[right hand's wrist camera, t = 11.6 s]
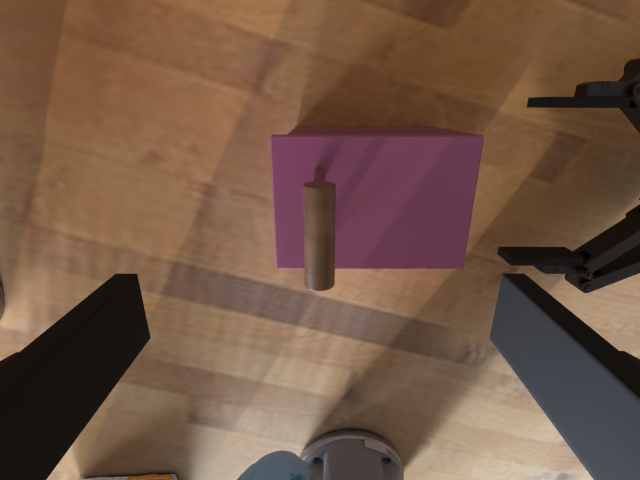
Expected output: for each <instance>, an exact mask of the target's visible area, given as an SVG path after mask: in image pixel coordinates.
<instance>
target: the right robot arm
mask: <svg viewBox="0 0 640 480" xmlns="http://www.w3.org/2000/svg"><path fill="white" fill-rule="evenodd" d="M3 311H4V294H3V289H2V286H1V283H0V319H1V317H2V315H3ZM149 339H150V334H149V329H148V324H147V319H146V315H145V310H144V305H143V300H142V295H141V290H140V285H139V281H138V276H137V274H115V275H114V276H112V277H111V278H110V279H109V280H107V281H106V282H105V283H104V284H103V285H101V286H100V287H99V288H98V289H96V290H95V291H94V292H93V293H92V294H90V295H89V296H88V297H87V298H85V299H84V300H83V301H82V302H80V303H79V304H78V305H77V306H76V307H74V308H73V309H72V310H71V311H69V312H68V313H67V314H66V315H65V316H63V317H62V318H61V319H60V320H58V321H57V322H56V323H55V324H54V325H52V326H51V327H50V328H49V329H47V330H46V331H45V332H44V333H42V334H41V335H40V336H39V337H38V338H36V339H35V340H34V341H33V342H31V343H30V344H29V345H28V346H27V347H25V348H24V349H23V350H22V351H20V352H16V353H14V354H13V355H11V356H9V357H7V358H5V359H3V360H1V361H0V480H46V479H47V478H48V476H49V475H50V474H51V472H52V471H53V470H54V468H55V467H56V466H57V464H58V463H59V461H60V460H61V459H62V457H63V456H64V455H65V453H66V452H67V451H68V449H69V448H70V447H71V445H72V444H73V442H74V441H75V440H76V438H77V437H78V436H79V434H80V433H81V432H82V430H83V429H84V427H85V426H86V425H87V423H88V422H89V421H90V419H91V418H92V417H93V415H94V414H95V413H96V411H97V410H98V408H99V407H100V406H101V404H102V403H103V402H104V400H105V399H106V398H107V396H108V395H109V393H110V392H111V391H112V389H113V388H114V387H115V385H116V384H117V383H118V381H119V380H120V379H121V377H122V376H123V374H124V373H125V372H126V370H127V369H128V368H129V366H130V365H131V364H132V362H133V361H134V359H135V358H136V357H137V355H138V354H139V353H140V351H141V350H142V349H143V347H144V346H145V345H146V343H147V342H148V340H149ZM490 339H491V340H492V342H493V343H494V345H495V346H496V347H497V349H498V350H499V351H500V353H501V354H502V355H503V357H504V358H505V359H506V361H507V362H508V364H509V365H510V366H511V368H512V369H513V370H514V372H515V373H516V374H517V376H518V377H519V379H520V380H521V381H522V383H523V384H524V385H525V387H526V388H527V389H528V391H529V392H530V393H531V395H532V396H533V398H534V399H535V400H536V402H537V403H538V404H539V406H540V407H541V408H542V410H543V411H544V413H545V414H546V415H547V417H548V418H549V419H550V421H551V422H552V423H553V425H554V426H555V427H556V429H557V430H558V432H559V433H560V434H561V436H562V437H563V438H564V440H565V441H566V442H567V444H568V445H569V447H570V448H571V449H572V451H573V452H574V453H575V455H576V456H577V457H578V459H579V460H580V461H581V463H582V464H583V466H584V467H585V468H586V470H587V471H588V472H589V474H590V475H591V476H592V478H593V479H594V480H640V359H638V358H636V357H634V356H632V355H630V354H628V353H627V352H625V351H618V350H617V349H616V348H615V347H613V346H612V345H611V344H610V343H609V342H607V341H606V340H605V339H604V338H602V337H601V336H600V335H599V334H598V333H596V332H595V331H594V330H593V329H591V328H590V327H589V326H588V325H586V324H585V323H584V322H583V321H582V320H580V319H579V318H578V317H577V316H575V315H574V314H573V313H572V312H571V311H569V310H568V309H567V308H566V307H564V306H563V305H562V304H561V303H560V302H558V301H557V300H556V299H555V298H553V297H552V296H551V295H550V294H548V293H547V292H546V291H545V290H544V289H542V288H541V287H540V286H539V285H537V284H536V283H535V282H534V281H533V280H531V279H530V278H529V277H528V276H526V275H525V274H503V276H502V281H501V285H500V290H499V295H498V300H497V305H496V310H495V315H494V319H493V324H492V329H491V334H490Z"/></svg>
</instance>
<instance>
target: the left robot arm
mask: <svg viewBox="0 0 640 480" xmlns="http://www.w3.org/2000/svg"><path fill="white" fill-rule="evenodd" d="M527 107H555V108H620V109H621V111H622V112H623V113H624V114H625V116H626V117H627V118H628V119H629V121H630V122H631V123H632V124H633V126H634V127H635V128H636V129H637V130H638V132H639V133H640V58H638V59H632V60H630V61H628V62H627V63H626V64H625V66H624V75H623V76H622V78H621V79H620V80H618V81H617V82H603V81H596V82H585V83H581V84H579V85H577V87H576V91H575V95H574V97H538V98H529V99H528V104H527ZM639 200H640V199H639ZM497 254H498V255H499V256H501V257H502V258H503V259H504V260H505V261H507V262H508V263H509V264H510V265H533V266H534V267H536V268H537V269H538V270H540V271H541V272H543V273H546V274H556V273H557V274H566V275H565V279H566V280H567V281H568V282H569V283H571V284H572V285H574V286H575V287H576V288H578V289H579V290H581V291H582V292H584V293H589V292H591V291H594V290H597V289H599V288H602V287H604V286H607V285H610V284H612V283H615V282H617V281H620V280H623V279H625V278H628V277H630V276H633V275H636V274H638V273H640V205H638V206H637V207H635V208H634V209H632V210H630V211H629V212H627V213H626V218H625V219H623V220H621V221H620V222H618V223H617V224H615V225H614V226H612V227H610V228H609V229H607V230H606V231H604V232H603V233H601V234H599V235H598V236H596V237H595V238H593V239H592V240H590V241H588V242H587V243H585V244H584V245H582V246H581V247H579V248H578V249H576V250H574V251H573V252H572V251H571V250H569V249H567V248H565V247H499V248H498V253H497ZM237 480H404V478H403V467H402V463H401V459H400V455H399V453H398V451H397V450H396V448H395V447H394V446H393V445H392V444H391V443H390V442H389V441H388V440H386V439H385V438H383V437H381V436H379V435H377V434H375V433H372V432H368V431H364V430H354V429H348V430H339V431H334V432H330V433H327V434H325V435H322V436H320V437H318V438H317V439H315V440H314V441H312V442H311V443H310V444H309V445H308V446H307V447H306V448H305V449H304V450H303V452H302V454H301V456H300V458H299V457H298V456H297V455H296V454H294V453H292V452H289V451H276V452H273V453H270V454H268V455H266V456H264V457H262V458H261V459H260V460H259V461H257V462H256V463H255V464H252V465H251V466H250V467H249V468H248V469H247V470H245V472H244V473H243V474H242V475H241V476H240V477H239V478H238V479H237Z"/></svg>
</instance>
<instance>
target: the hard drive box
mask: <svg viewBox="0 0 640 480" xmlns="http://www.w3.org/2000/svg"><path fill="white" fill-rule="evenodd" d="M77 480H178V479H177V477H176V475H175V474H166V475H157V474H148V475H143V476H125V477H96V478H84V479H77Z"/></svg>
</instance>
